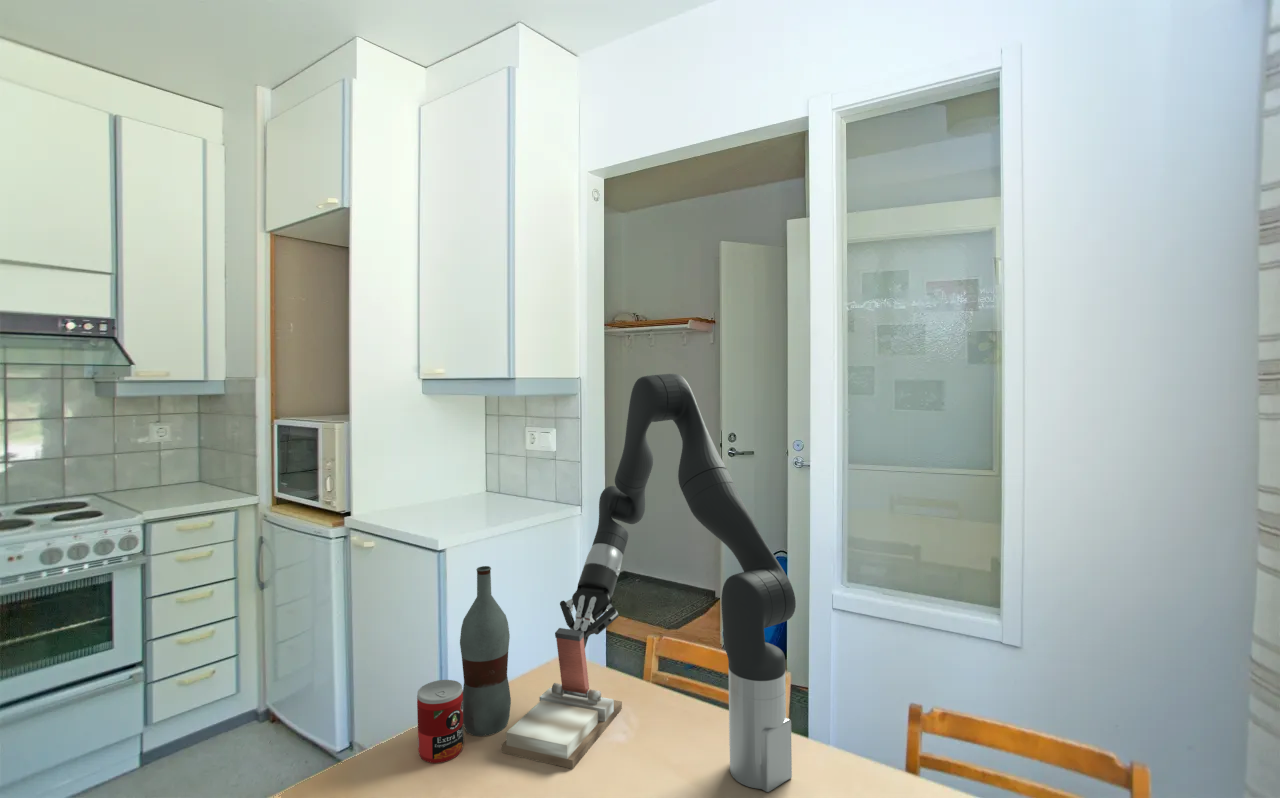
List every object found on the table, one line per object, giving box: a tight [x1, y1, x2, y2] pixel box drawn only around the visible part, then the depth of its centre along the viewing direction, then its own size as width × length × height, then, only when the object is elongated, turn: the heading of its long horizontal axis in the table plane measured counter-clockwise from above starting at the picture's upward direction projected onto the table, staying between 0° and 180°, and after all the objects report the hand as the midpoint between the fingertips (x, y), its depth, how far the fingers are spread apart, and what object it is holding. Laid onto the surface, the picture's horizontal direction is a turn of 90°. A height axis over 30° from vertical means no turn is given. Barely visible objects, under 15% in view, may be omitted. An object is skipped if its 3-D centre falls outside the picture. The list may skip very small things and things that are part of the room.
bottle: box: [459, 565, 512, 737], centre depth 119 cm, size 9×9×30 cm
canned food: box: [416, 679, 465, 764], centre depth 111 cm, size 8×8×11 cm
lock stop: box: [554, 627, 590, 698], centre depth 120 cm, size 2×5×14 cm, turn 69°
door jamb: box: [501, 682, 623, 770], centre depth 117 cm, size 21×14×6 cm, turn 159°
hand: (575, 652), depth 121 cm, fingers closed
